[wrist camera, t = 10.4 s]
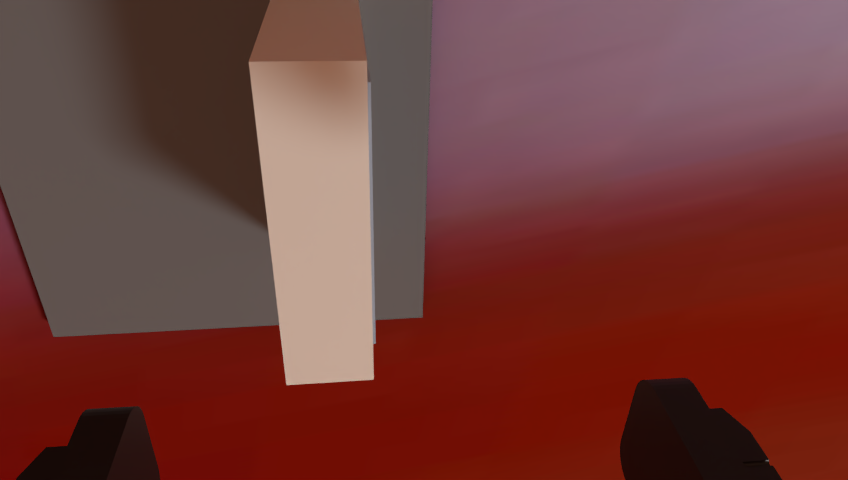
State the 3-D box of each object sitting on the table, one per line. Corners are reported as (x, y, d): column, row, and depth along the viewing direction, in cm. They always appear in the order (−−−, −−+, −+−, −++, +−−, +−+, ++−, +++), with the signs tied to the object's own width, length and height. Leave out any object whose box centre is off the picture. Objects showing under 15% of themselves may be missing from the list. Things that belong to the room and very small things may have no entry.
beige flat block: (274, -11, 19) (248, 61, 13) (360, -12, 20) (371, 60, 14) (297, 247, 24) (286, 385, 18) (366, 244, 24) (377, 379, 18)
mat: (-108, -159, 17) (-122, -159, 16) (434, -146, 18) (436, -144, 18) (59, 326, 25) (53, 337, 25) (420, 308, 27) (422, 317, 27)
